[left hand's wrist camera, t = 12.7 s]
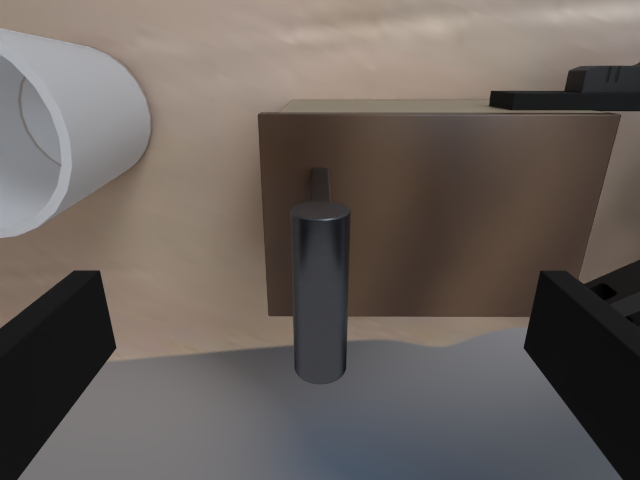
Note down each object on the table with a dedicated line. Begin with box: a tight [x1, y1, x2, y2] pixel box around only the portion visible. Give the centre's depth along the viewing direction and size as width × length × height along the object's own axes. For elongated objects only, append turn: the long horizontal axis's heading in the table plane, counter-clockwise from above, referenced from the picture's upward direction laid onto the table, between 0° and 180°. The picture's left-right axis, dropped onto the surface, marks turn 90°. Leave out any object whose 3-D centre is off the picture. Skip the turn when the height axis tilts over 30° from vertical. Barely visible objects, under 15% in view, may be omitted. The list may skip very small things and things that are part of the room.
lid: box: [258, 112, 621, 384], centre depth 16 cm, size 15×10×8 cm, turn 90°
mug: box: [0, 28, 152, 238], centre depth 21 cm, size 11×9×10 cm
